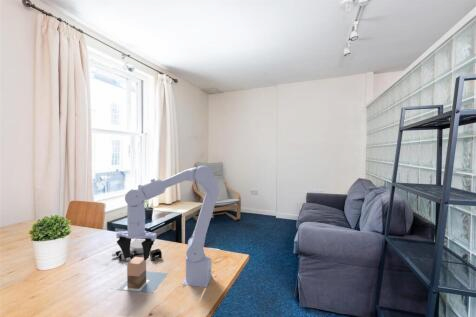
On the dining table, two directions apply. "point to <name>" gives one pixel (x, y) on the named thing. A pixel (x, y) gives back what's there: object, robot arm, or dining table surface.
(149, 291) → the plate
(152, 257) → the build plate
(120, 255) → the robot toy
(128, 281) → the walnut block
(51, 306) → the dining table surface
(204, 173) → the robot arm
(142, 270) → the terracotta block
